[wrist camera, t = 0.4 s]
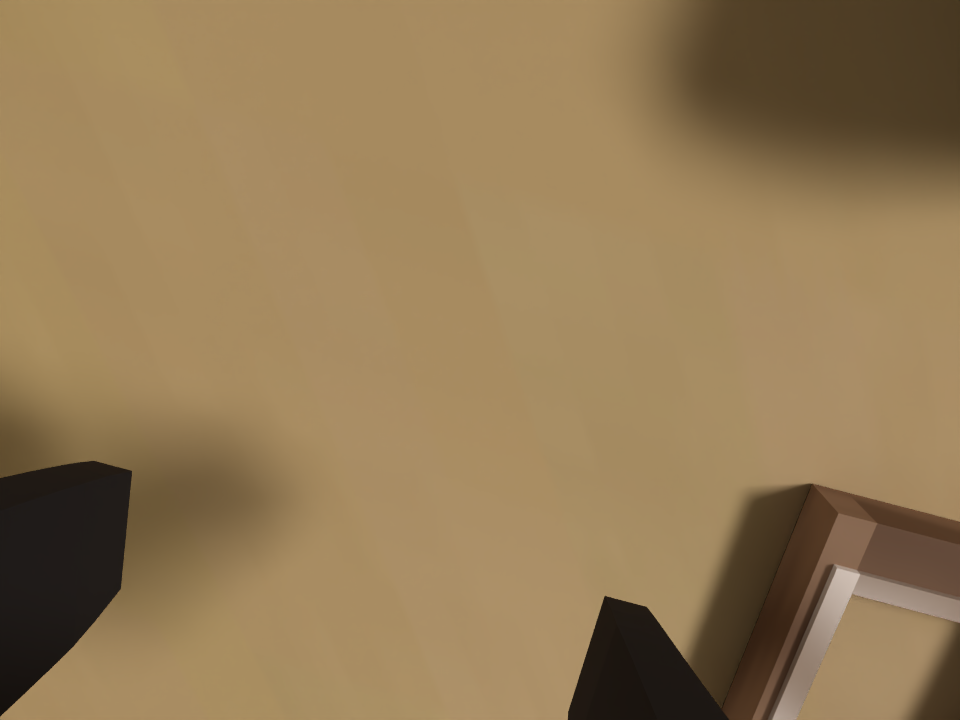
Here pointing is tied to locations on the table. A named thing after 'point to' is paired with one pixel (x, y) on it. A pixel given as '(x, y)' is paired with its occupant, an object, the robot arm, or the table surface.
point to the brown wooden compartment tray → (840, 591)
